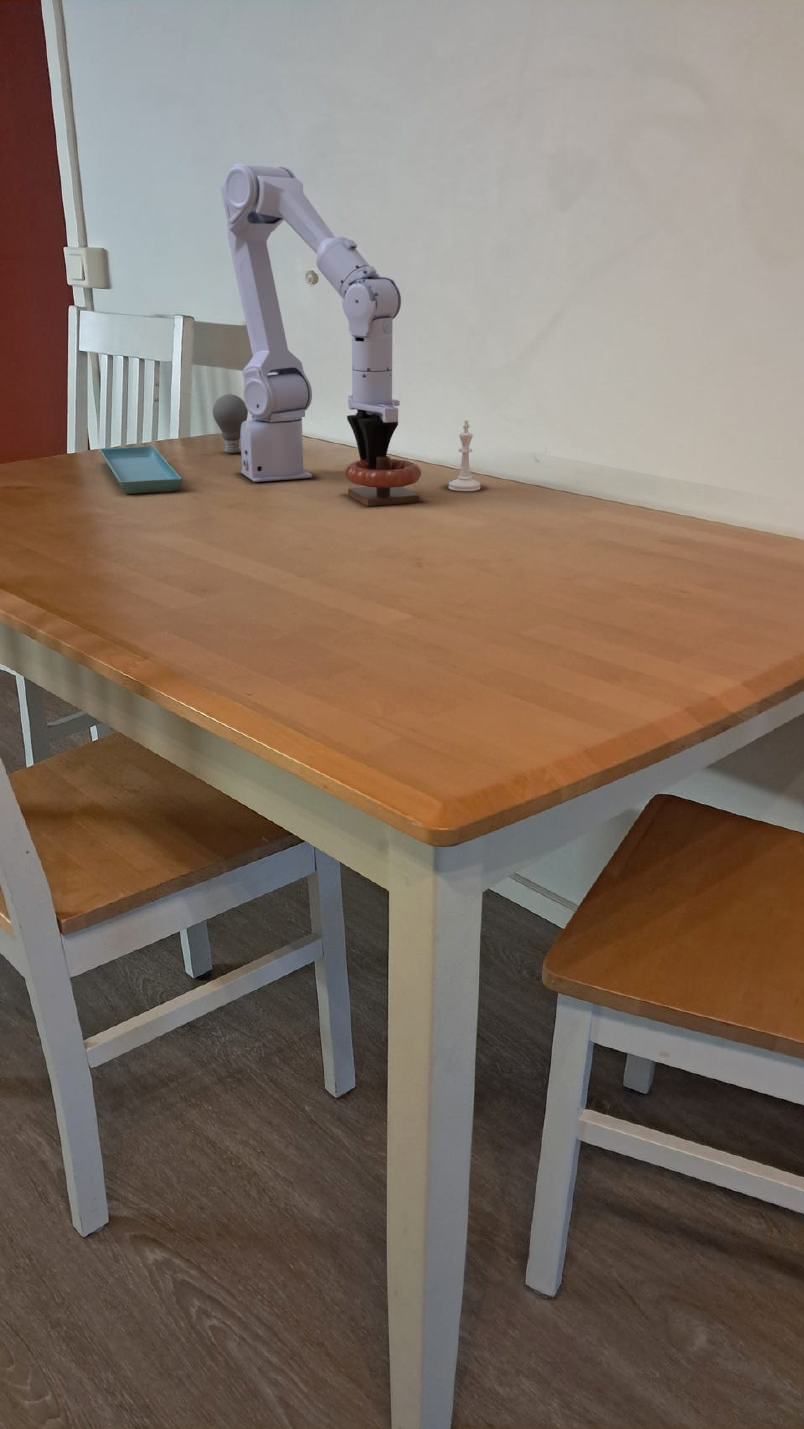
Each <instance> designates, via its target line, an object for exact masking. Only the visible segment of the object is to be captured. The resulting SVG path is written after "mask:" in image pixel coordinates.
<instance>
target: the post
mask: <svg viewBox="0 0 804 1429" xmlns="http://www.w3.org/2000/svg"><path fill="white" fill-rule="evenodd" d="M390 459H391V456H390V455H386V456H377V457H376V470H390ZM347 495H348V496H349V497H351V498H352V499H354V500H356V501H357V502H359V503H360V504H363V505H364V506H366V507H377V506H389V505H390V506H391V505H401V504H410V503H411V504H413V503H420V494H418V493H416V492H414V491H412V490H410V489H408V488H406V487H405V486H403V487H390V488H381V487H367V486H362V487H361V486H360V487H350V488H347Z"/></svg>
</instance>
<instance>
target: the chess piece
mask: <svg viewBox="0 0 804 1429" xmlns="http://www.w3.org/2000/svg"><path fill="white" fill-rule="evenodd" d="M469 428H470V423H469V420H467V419H465V420H464V425H463V427H462V429H463V430H464V431H463V432H460V433H459V434H458V436H459V439H460V443H461V448H459V449H458V453H461V462H460V468H459V474H458V475H457V476H456V478H457V479H453V480H451V481H449V482H448V489H449V490H451V491H457V492H474V491H479V490H480V489H481V488H482V487H481V483H480V481H478V480H475V479H473V476H472V475H471V468H470V456H469V453H473V449H472V448H470V445H471V442H472V439H473V436H474V435H473V433H472V432H469Z"/></svg>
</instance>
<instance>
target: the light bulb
mask: <svg viewBox="0 0 804 1429" xmlns="http://www.w3.org/2000/svg"><path fill="white" fill-rule="evenodd" d="M212 415H213V419H214V421H215V423H216V424H217V426H218V427H219V430H220V432H221V436H222V438H223V440H224V446H225V447H224V451H225V452H226V453H228V454H230V455H235V454H237V453H238V452H241V447H240V445H241V442H240V441H241V425H242V423H243V422H244V421H248V416H249V411H248V410H247V408H246V406H245V403H244V399H242V398H241V397H240V396H238V395H235V394H231V393H227V394H223V395H221V396H220V397H219V398H218V399H217V400H216V401H215V402H214V405H213V407H212Z"/></svg>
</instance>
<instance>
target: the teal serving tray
mask: <svg viewBox="0 0 804 1429" xmlns="http://www.w3.org/2000/svg"><path fill="white" fill-rule="evenodd" d="M99 453H100V454H101V456H102V458H103V459H104V461H105V463H106V464H107V466H108V468H109V470H110V471H111V473H112V474H113V476H114V477H115V479H116V480H117V482H118V484H119V485H120V487H121V489H122V490H123V491H124V493H125V494H127V495H130V494H131V495H132V494H133V495H134V494H145V493H146V494H148V493H165V492H166V493H168V492H176V491H177V490H178V488H179V486H180V484H181V482H182V480H183V478H182V476H181V475H179V473H178V472H177V471H176V470H175V469H174V468H173V467H172V465H171V464H170V462H168V461H167V459H166V458H165V457H164V456H163V455H162V453H161V452H160V451H159V450H158V449H157V447H156V446H154V445H147V446H145V445H144V446H128V447H127V446H126V447H111V448H100V449H99Z"/></svg>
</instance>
